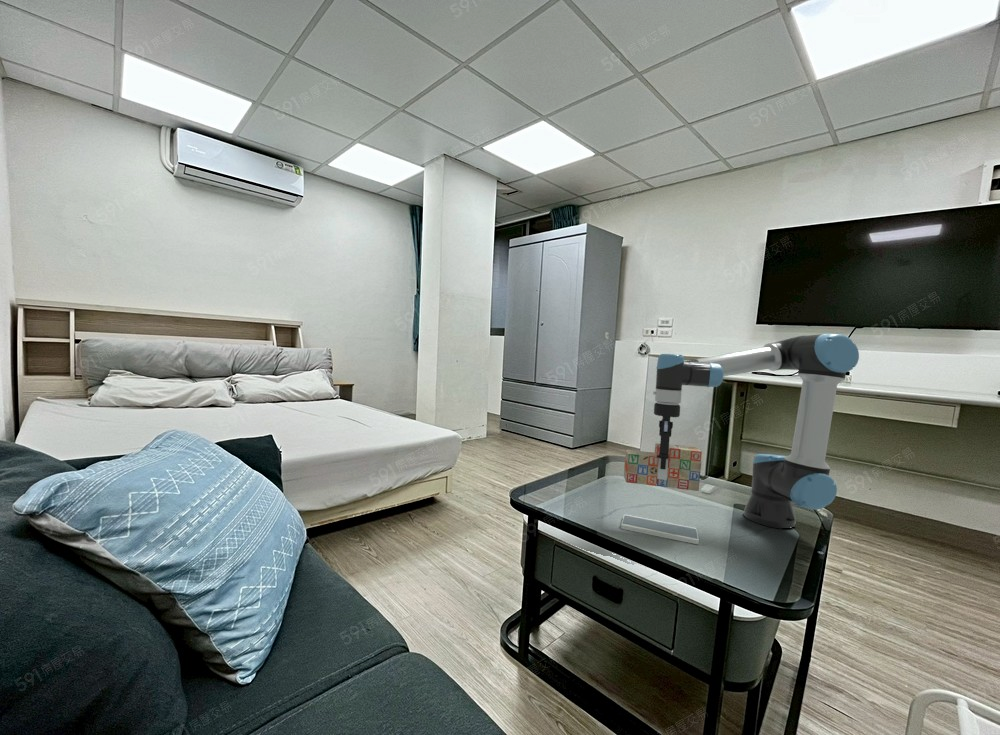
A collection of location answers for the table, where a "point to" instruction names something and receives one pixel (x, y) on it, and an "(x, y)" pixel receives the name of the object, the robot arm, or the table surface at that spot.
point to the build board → (660, 529)
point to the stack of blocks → (680, 467)
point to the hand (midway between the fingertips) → (662, 475)
